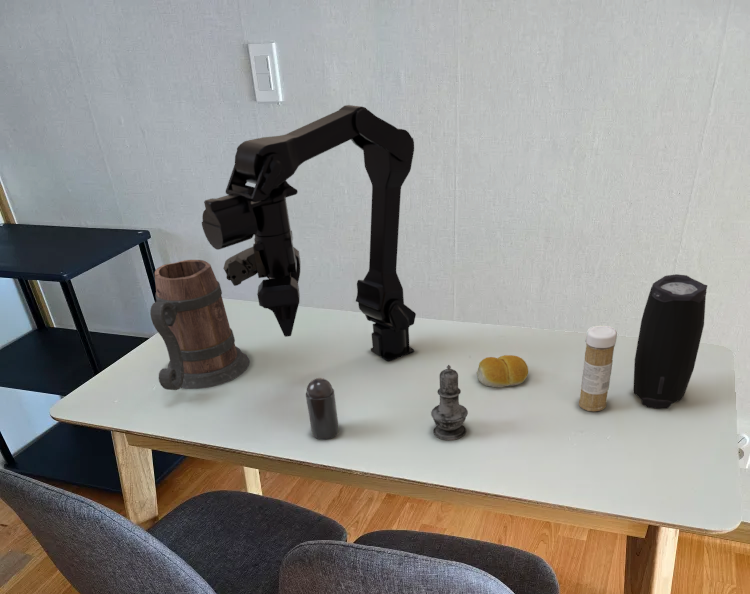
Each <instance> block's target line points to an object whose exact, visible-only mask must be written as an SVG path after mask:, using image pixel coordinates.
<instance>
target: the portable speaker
mask: <svg viewBox="0 0 750 594" xmlns="http://www.w3.org/2000/svg"><path fill="white" fill-rule="evenodd" d="M707 290H708V285H707V284H704V283H703V282H700V281H698V280H696V279H694V278H691V277H690V276H689V275H687V274H676V273H675V274H669V275H664V276H662V277H660V278H659V279H658V280H656V281H655V282H653V283H652V284H651V287H650V291H649V294H648V298H647V299H646V303H645V306H644V309H643V313H642V317H641V321H640V327H639V332H638V338H637V344H636V349H635V356H634V367H633V387H632V388H633V390H632V391H633V395H636V396H637V398H639V399H640V400H641V403H642V405H643V406H645V407H646V408H650V409H657V410H661V409H664V410H665V409H669V407H671V405H673V404H674V403H677V402H679V401H681V400H683V398H684V396H685V394H686V391H687V389H688V386H689V383H690V381H691V378H692V375H693V372H694V370H695V365H696V361H697V357H698V353H699V348H700V343H701V340H702V335H703V331H704V326H705V315H706V300H707V299H706V297H707V292H708V291H707Z"/></svg>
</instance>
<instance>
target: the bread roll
mask: <svg viewBox="0 0 750 594" xmlns="http://www.w3.org/2000/svg"><path fill="white" fill-rule="evenodd" d="M476 375H477V378H478V380H479V382H480V383H481V384H482V385H484V386H487V387H493V388H503V387H508V386H518V385H521V384H522V383H524V382H525V380H526V379H527V377H528V375H529V366H528V364H527V362H526V361H525V360H524V359H523V358H522V357H520V356H518V355H513V354H512V355H511V354H509V355H508V354H505V355H501V356H499V357H495V356H488V357H485V358H483V359H482V360H480V362H479V364H478V367H477V370H476Z"/></svg>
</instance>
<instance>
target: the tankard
mask: <svg viewBox="0 0 750 594" xmlns="http://www.w3.org/2000/svg"><path fill="white" fill-rule="evenodd" d="M154 280H155V281H154V282H155V291H156V292H155V294H154V295H155V301H154V302H152V304H151V306H150V312H149V313H150V320H151V323H152V325H153V327H154V329H155V330H156V331H157V333H158V334H159V336H160V337H161V338H162V340H163V342H164V344H165V347H166V351H167V353H168V358H169V362H168V363H167V368H161V370H159V373H158V382H159V384H160V386H161V387H162V388H163V389H164V390H167V391H168V390H169V391H179V390H180V389H195V390H197V389H206V388H211V387H215V386H219V385H220V386H221V385H224V384H225V383H228V382H231V381H233V380H234V379H237V378H238V377H240V376H241V375H243V374H244V373H245V372H246V371H247V370H248V368H249V366H250V363H251V362H250V358H249V356H248V355H247V354H246V353H244V352H243V351H242V350H241V348H239V347H238V346H236V344H235V343H236V339H235V335H234V332H233V329H232V328H231V326H230V322H229V319H228V314H227V311H226V306H225V304H224V300H223V296H222V295H223V290H222V288H221V283H220V282H219V281H218V280H217V278H216V275H215V272H214V270H213V268H212V266H211V264H210V263H209V262H208V261H206V260H205V259H204V260H202V259H184V260H180V261H177V262H171V263H166V264H162V265H160V266H158V267H157V268H156V269H155V271H154Z"/></svg>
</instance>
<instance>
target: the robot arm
mask: <svg viewBox="0 0 750 594" xmlns="http://www.w3.org/2000/svg"><path fill="white" fill-rule="evenodd" d="M349 141H351V142H352V143H353V144H354V145H355V146H357V147H358V149H361V150H362V152H363V161H364V163H363V164H364V168H365V170H366V173H367V175H368V178H369V180H370V184H371V209H370V210H371V211H370V213H371V214H370V215H371V216H370V234H369V235H370V238H369V239H370V241H369V263H368V271H367V273H366V275H365V276H364V278H363V279H358V280H357V282H356V290H357V292H356V298H355V302H356V303H358V304H357V305H358V309H359V310H360V312H361V313H362V314H363V315H364V317H365V319H366V320H367V321H369V322H372V332H371V344H372V347H371V348H370V352H371V353H373V354H374V355H376V356H378V357H379V358H381V359H383V360H384V361H385V362H391V361H394V360H397V359H399V358H403V357H405V356H408V355H411V354H413V353H415V349H414V348H413V347H412V346H410V328H411V326H413V325H414V324H415V321H416V315H417V313H416V312H415V311H414V310H413V309H411V308H410V307H408V306H407V305H406V304H405V299H404V298H405V297H404V288H403V286H402V283H401V280H400V278H399V275H398V272H397V264H398V263H397V261H398V246H399V230H400V229H399V228H400V213H401V211H400V210H401V195H402V194H401V193H402V186H403V184H404V183H405V181H406V179H407V177H408V176H409V174H410V172H411V170H412V163H413V159H414V153H415V139H414V137H412V136H411V134H410V132H409V131H408V130H406V129H403V128H398V127H396V126H394V125H392V124H391V123H389V122H387V121H385V120H384V119H382V118H380V117H379V116H377V115H376V114H374V113H373V112H371V110H369V109H368V108H366V107H365V106H360V105H353V104H352V105H351V104H346V105H343V106H342V107H340V108H339V109H338V110H336V111H334V112H332V113H330V114H327V115H325V116H323V117H320V118H319V119H317V120H314V121H312V122H309V123H307V124H305V125H302V126H301V127H298V128H296V129H294V130H292V131H290V132H288V133H285V134H282V135H274V136H263V137H259V138H254V139H248V140H244V141H243V142H242V143H240V144H239V145H238V146H237V148H236V153H235V156H234V165H233V168H232V171H231V174H230V176H229V180H228V183H227V184H226V188H225V195H223V196H220V197H216V198H215V197H214V198H209V199H205V200H204V201H203V203H204V208H205V209H204V210H203V212H202V216H201V217H202V221H201V226H202V231H203V233H204V236H205V238H206V240H207V242H208V243H209V245H211V247H212V248H213V249H215V250H222V249H225V248H229V247H231V246H234V245H237V244H240V243H243V242H246V241H249V240H251V239H252V238H253V237H254V238H253V239H254V240H253V241H254V243H253V245H252V246H251V247H248V248H246V249H243V250H242V251H240V252H238V253H236V254H234V255H232V256H230V257H229V258H227V259H226V260H225V261H224V265H223V270H224V272H225V275H226V277H225V278H226V280H227V281H230V282H231V283H232V285H233V286H235V287H236V286H239V285H241V284H242V282H243V281H246V280H249V279H250V278H252V277H254V276H256V275H257V276H258V279H261V278H263V279H262V281H260V284H259V285H258V287H257V293H256V295H257V299H258V306H259V307H262V308H264V309H268V310H269V311H271V312H272V313H273V315H274V317H275V319H276V321H277V323H278V325H279V328H280V330H281V332H282V334H283V336H284V337H285V338H286V337H291V336H292V334H293V329H294V325H295V322H296V316H297V312H298V309H299V305H300V301H301V300H300V297H301V296H300V286H299V281H300V275H301V256H300V250H298V248H296V247H295V246H294V242H293V240H294V236H293V230H292V229H291V223H290V216H289V209H288V203H287V198H290V197H292V196H295V195H297V194H298V189H296V188H295V187H294V186H292V185H291V184H290V183H288V181H287V180H288V179H289V178H291V177H292V176H294V175H295V173H296V172H297V170H298V168H299V167H300V166H301V165H302V164H304V163H305V162H307V161H309V160H311V159H314V158H315V157H317V156H319V155H321V154H324V153H325V152H328V151H330V150H332V149H333V148H336V147H338V146H340V145H342V144H344V143H347V142H349ZM248 183H249V184H254V185H255V186H251V185H247V184H248ZM264 278H267V279H264Z"/></svg>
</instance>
